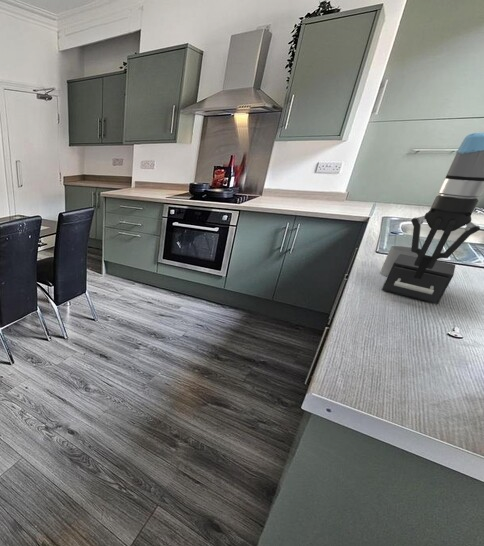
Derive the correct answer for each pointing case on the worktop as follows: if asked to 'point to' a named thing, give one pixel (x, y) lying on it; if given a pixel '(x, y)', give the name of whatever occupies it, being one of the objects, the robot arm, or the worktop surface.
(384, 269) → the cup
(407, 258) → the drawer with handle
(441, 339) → the worktop surface
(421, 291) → the dark pull-out drawer
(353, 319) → the worktop surface
